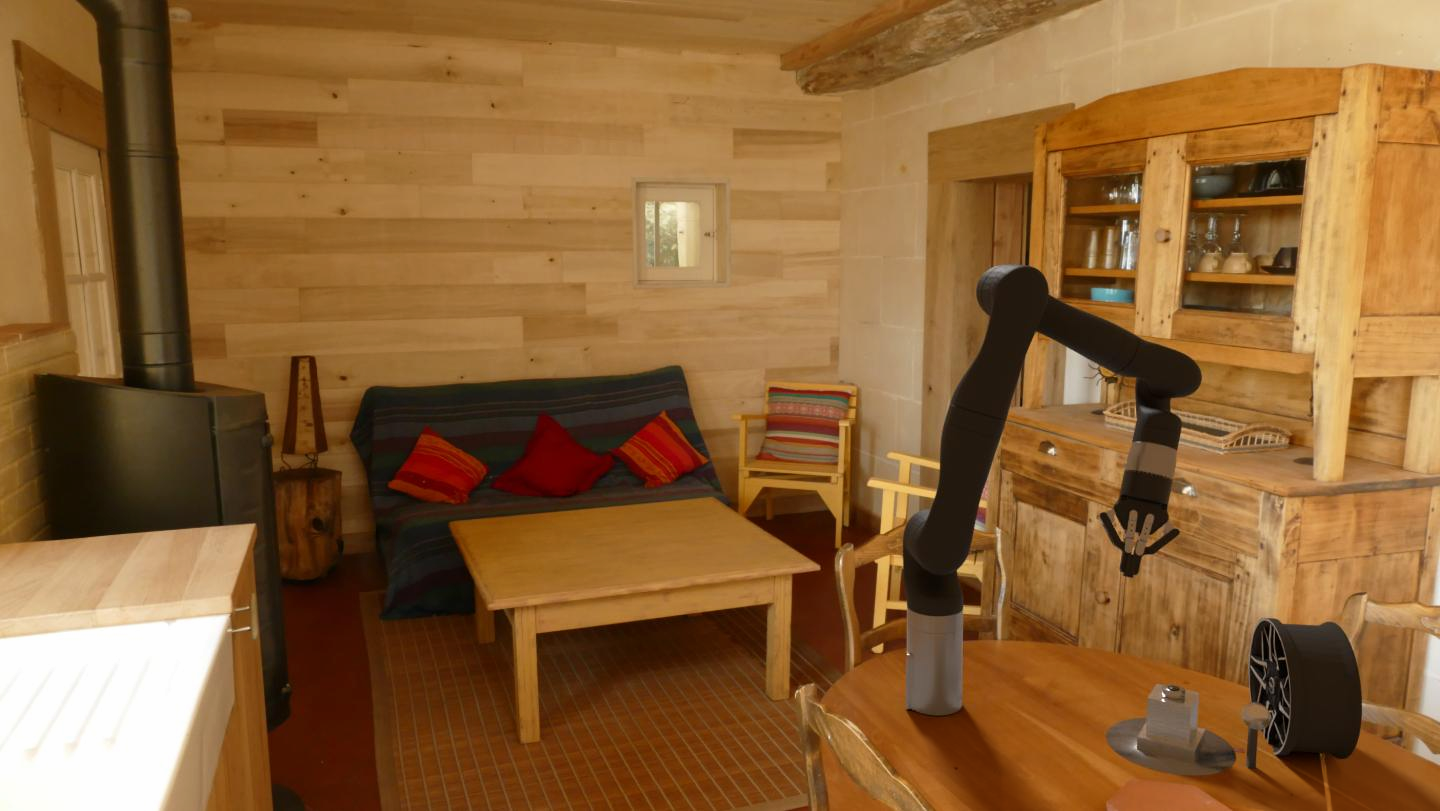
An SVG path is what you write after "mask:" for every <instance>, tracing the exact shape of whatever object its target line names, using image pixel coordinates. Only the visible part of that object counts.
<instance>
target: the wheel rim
mask: <svg viewBox="0 0 1440 811" xmlns="http://www.w3.org/2000/svg"><path fill="white" fill-rule="evenodd" d="M1361 684H1362V682H1361V678H1360V671H1359V667H1358V661H1357V658H1356V654H1355V652H1354V649H1353V646H1352V644H1351V642H1350V639H1349V637H1348V636H1347V634H1346V633H1345V631H1344V629H1343V628H1342V627H1341V626H1340V625H1338V624H1337V623H1336V622H1333V621H1325V622H1322V623H1321V624H1318V625H1317V624H1316V625H1315V624H1295V623H1283V622H1281V621H1280V620H1279V619H1277V618H1273V617H1272V618H1271V617H1261V619H1259V620H1258V621H1257V623H1256V625H1255V626H1254V629H1253V632H1252V634H1251V640H1250V647H1249V654H1248V688H1249V690H1248V691H1249V697H1250V702H1257V703H1261V704H1263V705H1264V706H1265V707H1266V708H1267V709H1268V711H1269V712H1270V714H1271V718H1272V719H1271V723H1270V724H1269V726H1268V727H1266V728H1265V729H1262V730H1259V731H1260V732H1262V734H1263V738H1264V739H1266V740H1267V741H1266V743H1267V744H1269V745H1272V749H1273V751H1272V753H1273V754H1274V756H1287V755H1289V754H1290V753H1291V752H1299V753H1300V752H1301V753H1311V754H1312V753H1314V754H1327V755H1328V754H1329V756H1332V757H1333V758H1335V759H1337V760H1346V759H1348V758H1350V756H1352V754H1353V753H1354V752H1355V749H1356V747H1357V744H1358V741H1359V738H1360V734H1361V728H1362V722H1363V721H1362V720H1363V694H1362V685H1361Z"/></svg>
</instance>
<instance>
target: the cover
mask: <svg viewBox="0 0 1440 811" xmlns="http://www.w3.org/2000/svg"><path fill="white" fill-rule="evenodd" d="M1199 696H1200V692H1197V691H1193V690H1188V689H1185V688H1184V687H1182V686H1180V685H1177V684H1169V683H1168V684H1159V683H1156V684H1155V685H1154V687H1153V689H1152V691H1151V692H1150V693H1149V695H1148V696H1147V705H1146V718H1147V721H1146V723H1145V725H1144V726H1143V728H1142V730H1141V731H1140V733H1139V735H1138V736H1137V749H1139V750H1143V751H1147V752H1151V753H1155V754H1159V755H1163V756H1167V757H1171V758H1175V759H1179V760H1183V761H1187V762H1191V763H1195V761H1196V759H1197V757H1198V754H1199V752H1200V750H1201V748H1202V746H1203V744H1204V742H1205V729H1206V728H1204V727H1201V728H1199V727H1200V726H1198V720H1199V719H1198V717H1199ZM1197 726H1198V727H1197ZM1203 728H1204V729H1203Z"/></svg>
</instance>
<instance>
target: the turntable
mask: <svg viewBox="0 0 1440 811" xmlns="http://www.w3.org/2000/svg"><path fill="white" fill-rule="evenodd" d="M1146 721H1147V717H1138V718H1129V719H1125V720H1122V721H1119V722H1116V723H1115V724H1112V725H1111V726H1109V728H1108V730H1107V731H1106V736H1105V739H1106V742H1107V744H1108V745H1109V747H1110V749H1112V751H1114V752H1115V753H1117V755H1119V757H1120V756H1121V757H1122V758H1123V759H1125V760H1128V761H1129V762H1131V763H1132V764H1136V765H1137V766H1140V767H1144V768H1147V769H1148V770H1153V771H1156V772H1160V773H1161V772H1162V773H1166V774H1171V775H1179V776H1209V775H1214V774H1218V773H1222V772H1224V771H1227V770H1228V769H1230V768H1231V767H1233V765H1234V764H1235V762H1236V760H1237V756H1236V755H1237V754H1236V753H1246V751H1245V750H1244V747H1243V748H1242V747H1233V746H1232V745H1231V744H1230V743H1229V742H1228V741H1227V740H1225V739H1224V738H1223V737H1221V736H1219V735H1218V734H1216V733H1214V732H1213V731H1211V730H1208V729H1206V728H1204V727H1201V726H1198V725H1197V727H1199V728H1203V729H1205V742H1204V744H1203V746H1202V748H1201V750H1200V752H1199V754H1198V757H1197V759H1196V761H1195V763H1191V762H1187V761H1183V760H1179V759H1175V758H1171V757H1167V756H1163V755H1159V754H1155V753H1151V752H1147V751H1143V750H1139V749H1137V736H1138V735H1139V733H1140V731H1141V730H1142V728H1143V726H1144V725H1145V723H1146Z"/></svg>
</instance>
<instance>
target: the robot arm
mask: <svg viewBox="0 0 1440 811" xmlns="http://www.w3.org/2000/svg"><path fill="white" fill-rule="evenodd" d="M975 290H976V291H975V296H976V300H977V302H978V303H977V304H978V306H979V307H980V309H981V310H982V311H983V312H984V313H985V314H986V315H987V316H989V321H988V325H987V328H986V329H987V330H986V332H985V335H984V339H983V342H982V345H981V347H980V349H979V351H978V353H977V354H976V356H975V358H974V360H973V361H972V363H971V364H970V366H969V367H968V369H967V371H966V372H965V373H964V374H963V376H962V377H961V379H960V381H959V382H958V384H957V386H956V388H955V390H954V391H953V394H952V396H951V400H950V403H949V406H948V409H947V412H946V416H945V419H944V422H943V426H942V430H941V436H940V448H939V474H938V475H939V478H938V483H937V489H936V493H935V496H934V500H933V501H932V504H931V508H924V509H922V510H919V511H917V512H915V514H913V515H912V516H911V517H910V518H909V519H908V521H907V522H906V525H905V526H904V530H903V535H902V565H903V566H902V570H903V571H902V572H903V573H902V574H903V585H904V590H905V595H906V655H905V709H906V708H907V709H906V710H908V709H912V710H911V711H914V710H915V711H914V712H917V713H920V714H923V715H929V716H949V715H952V714H955V713H957V712H958V711H960V710H961V709H962V705H963V657H964V656H963V653H964V652H963V648H964V647H963V645H964V644H963V641H964V640H963V639H964V593H963V590H962V586H961V583H960V580H959V576H958V575H959V574H958V570H959V569H960V568H961V567H962V566H963V564H964V563H965V562H966V560H967V558H968V557H969V553H970V550H971V546H972V541H973V537H974V531H975V526H976V521H977V518H978V516H977V515H978V510H979V507H980V502H981V499H982V495H983V493H984V489H985V486H986V484H987V479H988V477H989V474H990V472H991V468H992V465H993V462H994V458H995V455H996V452H997V449H998V447H999V444H1000V441H1001V438H1002V435H1003V431H1004V428H1005V425H1006V421H1007V418H1008V415H1009V411H1010V407H1011V404H1012V401H1013V397H1014V396H1015V395H1014V394H1015V391H1016V389H1017V385H1018V382H1019V380H1020V376H1021V372H1022V368H1023V364H1024V361H1025V359H1026V356H1027V354H1028V350H1029V348H1030V346H1031V344H1032V342H1033V339H1034V337H1035V335H1036V333H1038V334H1041V335H1042V336H1045V337H1047V338H1049V339H1051V340H1053V341H1055V342H1057V343H1059V344H1060V345H1062V346H1064V347H1066V348H1067V349H1069V350H1072V351H1073V352H1075V353H1077V354H1079V355H1080V356H1082V357H1083V358H1086V359H1087V360H1089V361H1090V362H1093V363H1094V364H1096V365H1099V366H1100V367H1101V368H1102V367H1103V368H1104V369H1106V370H1108V371H1109V372H1112V373H1114V374H1115V375H1118V376H1120V377H1125V378H1132V379H1133V378H1134V379H1135V381H1134V382H1135V384H1134V392H1135V393H1134V395H1135V396H1134V398H1135V412H1136V422H1135V426H1134V430H1133V436H1132V441H1131V445H1130V447H1129V450H1128V453H1127V456H1126V461H1125V463H1124V471H1123V475H1122V480H1121V486H1120V488H1119V489H1120V490H1119V494H1118V499H1117V501H1116V502H1115V503H1114V504H1113V508H1112V509H1110V510H1106V511H1103V512H1100V513H1098V520H1099V522H1100V523H1101V525H1102V528H1103V529H1104V531H1105V533H1106V535H1107V537H1108V538H1109V541H1110V542H1111V544H1112V546H1113V547H1115V548H1117V549H1119V550H1120V551H1121V558H1120V562H1119V567H1118V569H1119V572H1121V573H1122V575H1121V576H1122V577H1125V578H1129V579H1133V578H1134V576H1138V575H1139V572H1140V566H1141V562H1142V558H1143V557H1144V556H1148V555H1149V556H1151V555H1154V554H1156V553H1158V551H1160V550H1161V549H1162V548H1164V547H1165V546H1167V545H1169V543H1170V542H1172V541H1173V540H1174V539H1176V538H1177V537H1178V536H1179V535H1180V534H1181V533H1180V532H1181V531H1180V530H1179V528H1175V526H1174V525H1173V524H1172V523H1171V521H1170V520H1169V519H1170V515H1169V513H1168V506H1169V502H1170V498H1171V494H1172V493H1171V492H1172V487H1173V481H1174V477H1175V472H1176V467H1177V454H1178V449H1179V444H1180V439H1181V435H1182V426H1183V421H1182V419H1181V417H1180V416H1179V415H1178V414H1176V413H1173V412H1171V401H1172V400H1171V399H1181V398H1185V397H1188V396H1191V395H1193V394H1194V393H1195V392H1197V391H1198V390H1199V388H1200V386H1201V384H1202V379H1203V375H1202V370H1201V368H1200V366H1199V365H1198V364H1197V363H1196V361H1195V360H1194V359H1193V358H1192V357H1190V356H1189V355H1187V354H1186V353H1183V352H1181V351H1179V350H1176V349H1174V348H1171V347H1169V346H1165V345H1163V344H1162V345H1161V344H1158V343H1155V342H1153V341H1152V342H1151V341H1148V340H1145V339H1143V338H1141V336H1139V335H1136V334H1135V333H1133V332H1131V331H1130V330H1127V329H1125V328H1124V327H1122V326H1120V325H1118V324H1117V323H1114V322H1112V321H1110V320H1107V319H1106V318H1102V317H1100V316H1098V315H1095V314H1092V313H1089V312H1087V311H1084V310H1082V309H1079V308H1077V307H1075V306H1073V305H1070V304H1068V303H1066V302H1064V301H1061V300H1060V299H1058V298H1056V297H1054V296H1053V295H1051V294H1050V291H1049V290H1050V289H1049V283H1048V280H1047V278H1046V277H1045V275H1044V274H1043V272H1042V271H1041V270H1039V269H1038V268H1036V267H1033V266H1032V265H1025V264H1013V263H1009V264H1008V263H1007V264H1006V263H1005V264H1004V263H1003V264H1000V265H996V266H993V267H991V268H989V269H988V270H987V271H985V272H984V273H983V274H981V276H980V278H979V279H978V281H977V284H976V288H975ZM1115 517H1116V518H1115ZM1116 519H1117V520H1118V523H1119V525H1120V527H1121V529H1123V531H1124V534H1123V540H1122V539H1121V537H1120V535H1119V533H1118V531H1117V529H1116V528H1115V526H1114V525H1113V523H1115V521H1116ZM1162 527H1163V529H1162V531H1161V535H1162V536H1160V537H1159V538H1158V539H1157V540H1156V541H1154V542H1153V543H1152V544H1151V545H1149V546H1146V545H1147V542H1148V540H1149V538H1150V537H1149V536H1153V534H1155V533H1156V532H1157V531H1158V530H1159V529H1161V528H1162ZM1136 534H1137V538H1136V541H1135V545H1134V540H1135V536H1136Z"/></svg>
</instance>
